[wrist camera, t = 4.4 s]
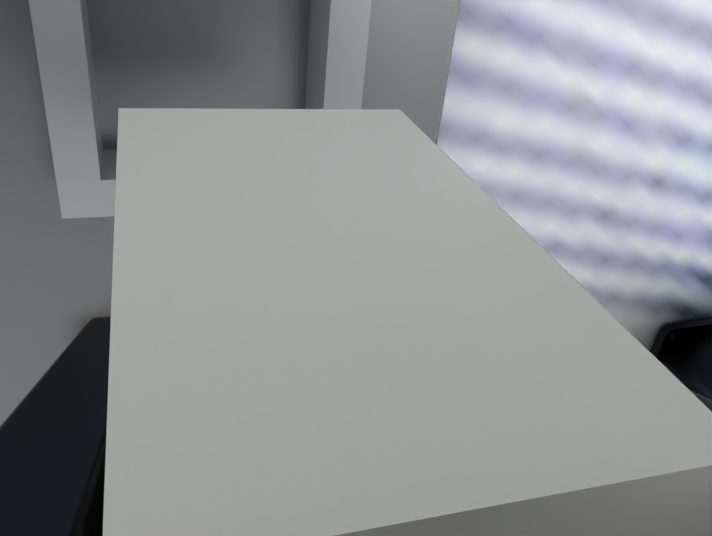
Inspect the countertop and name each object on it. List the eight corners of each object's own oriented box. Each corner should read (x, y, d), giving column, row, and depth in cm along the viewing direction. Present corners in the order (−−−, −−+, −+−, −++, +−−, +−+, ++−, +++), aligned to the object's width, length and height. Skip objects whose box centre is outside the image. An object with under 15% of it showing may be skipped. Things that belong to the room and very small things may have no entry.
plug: (399, 109, 10) (903, 597, 4) (371, 324, 12) (656, 885, 6) (118, 108, 9) (90, 829, 2) (139, 346, 11) (155, 1085, 4)
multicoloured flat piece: (467, -150, 17) (522, -150, 15) (377, 447, 29) (400, 502, 26) (-160, -227, 13) (-223, -242, 11) (22, 502, 25) (11, 574, 22)
